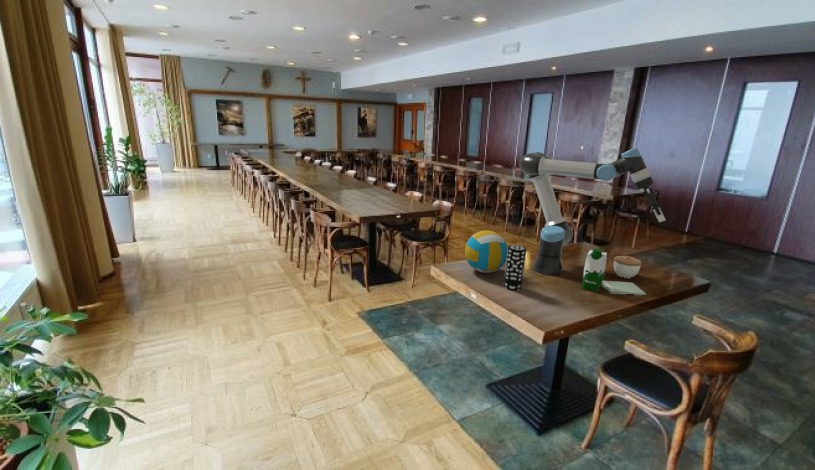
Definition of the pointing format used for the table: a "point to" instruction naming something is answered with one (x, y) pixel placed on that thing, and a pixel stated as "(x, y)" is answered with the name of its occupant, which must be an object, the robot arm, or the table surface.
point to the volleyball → (486, 251)
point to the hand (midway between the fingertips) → (661, 219)
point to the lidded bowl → (626, 266)
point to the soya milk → (594, 270)
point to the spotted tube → (514, 267)
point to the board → (622, 288)
